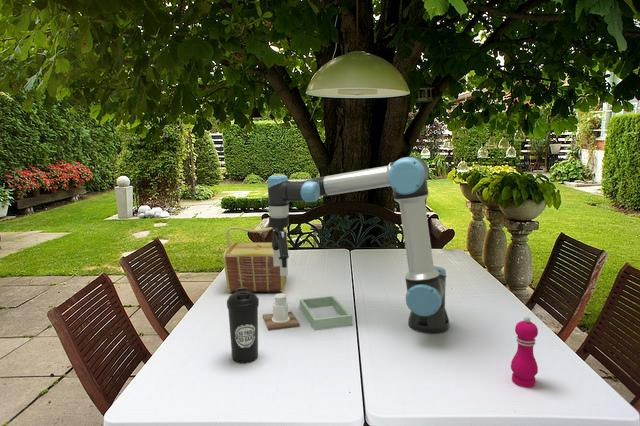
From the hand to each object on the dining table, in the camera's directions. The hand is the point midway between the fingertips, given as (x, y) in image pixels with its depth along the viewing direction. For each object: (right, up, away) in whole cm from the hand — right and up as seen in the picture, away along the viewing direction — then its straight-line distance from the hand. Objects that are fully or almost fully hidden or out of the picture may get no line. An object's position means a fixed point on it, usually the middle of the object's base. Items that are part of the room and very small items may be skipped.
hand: (280, 270), depth 179 cm
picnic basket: (-14, -14, +45) cm, 50 cm away
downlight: (0, -20, +3) cm, 20 cm away
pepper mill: (+75, -27, -44) cm, 91 cm away
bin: (+17, -19, +8) cm, 27 cm away
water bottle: (-9, -26, -26) cm, 38 cm away
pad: (0, -20, +3) cm, 21 cm away
